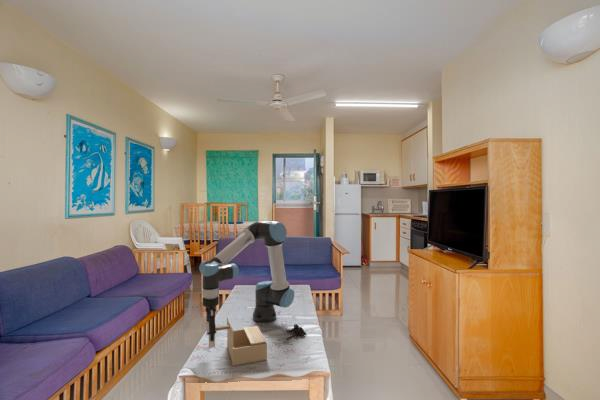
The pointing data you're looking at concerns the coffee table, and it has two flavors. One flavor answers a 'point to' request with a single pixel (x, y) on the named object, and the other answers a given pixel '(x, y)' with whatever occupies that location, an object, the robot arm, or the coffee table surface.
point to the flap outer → (229, 330)
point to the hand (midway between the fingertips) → (210, 340)
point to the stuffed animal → (296, 332)
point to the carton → (247, 346)
